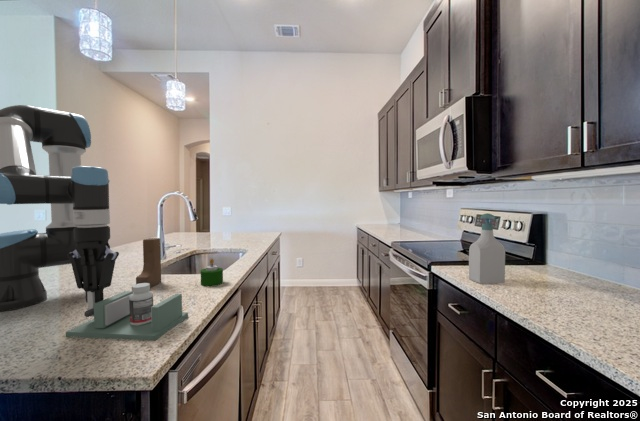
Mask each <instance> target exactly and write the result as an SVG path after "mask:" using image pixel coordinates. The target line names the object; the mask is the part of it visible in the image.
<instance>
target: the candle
mask: <svg viewBox="0 0 640 421" xmlns="http://www.w3.org/2000/svg"><path fill="white" fill-rule="evenodd" d="M214 261H215V260H214V259H213V258H210V259H209V264H210V265H207V266H206V267H205V268H203V269H200V285H201V286H202V287H207V286H209V287H216V286H220V285H222V284H224V268H222V267H218V265H214Z"/></svg>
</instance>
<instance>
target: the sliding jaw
mask: <svg viewBox="0 0 640 421" xmlns="http://www.w3.org/2000/svg"><path fill="white" fill-rule="evenodd" d="M131 294H133V292H132V290H131V291H129V290H125V291H122V292H120V293H117V294H115V295H112V296H109V297H108V298H105V299H103V300H102V301H100V302H97V303H95V304H94V308H92V309H90V310H88V309H87V310H85V312H83V314H84V317H86V318H89V317H90V316H92V315H94V316H93V319H94V328H105V327H107V326H109V325H111V324H112V323H114V322H116V321H118V320H120V319H122V318H124V317H126V316H128V315H130V307H129V297H130V295H131Z"/></svg>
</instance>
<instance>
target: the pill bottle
mask: <svg viewBox="0 0 640 421" xmlns="http://www.w3.org/2000/svg"><path fill="white" fill-rule="evenodd" d="M131 291H132V292H133V294H131V295H130V297H129V307H130V324H131V325H134V326H139V325H144V324H147V323H150V322H151V321H152V320H151V307H152V306H154V292H153V291H151V287H150V284H149V283H140V284H136V283H134V284H133V285H131Z"/></svg>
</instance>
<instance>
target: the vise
mask: <svg viewBox="0 0 640 421" xmlns="http://www.w3.org/2000/svg"><path fill="white" fill-rule="evenodd" d="M182 294H183V293H175V294H173V295H171V296H168V297H167V298H164V300H162V301H160V302H158V303H156V304H155V305H154V304H153V305H154V306H152V307H151V320H152V321H151V322H150V323H147V324H144V325H139V326H134V325H131V324H130V315H128V316H126V317H124V318H122V319H120V320H118V321H116V322H114V323H112V324H111V325H109V326H107V327H105V328H94V318H92V319H91V320H88V321H86V322H84V323H82V324H80V325H77V326H75V327H73V328H71V329H69V330H67V331H65V338H81V339H82V338H83V339H87V338H88V339H104V340H105V339H108V340H130V341H131V340H133V341H135V340H136V341H152V342H153V341H157V340H159V339H160V338H161V337H163V335H165V334H166V333H168V332H169V331H170V330H173V328H175V327H176V326H178V325H179V324H180V323H182V322H183V321H184V320H185V319H187V318H188V316H189V312H186V311H185V312H183V302H182V301H183V300H182V299H183V298H182V297H183V295H182Z"/></svg>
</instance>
